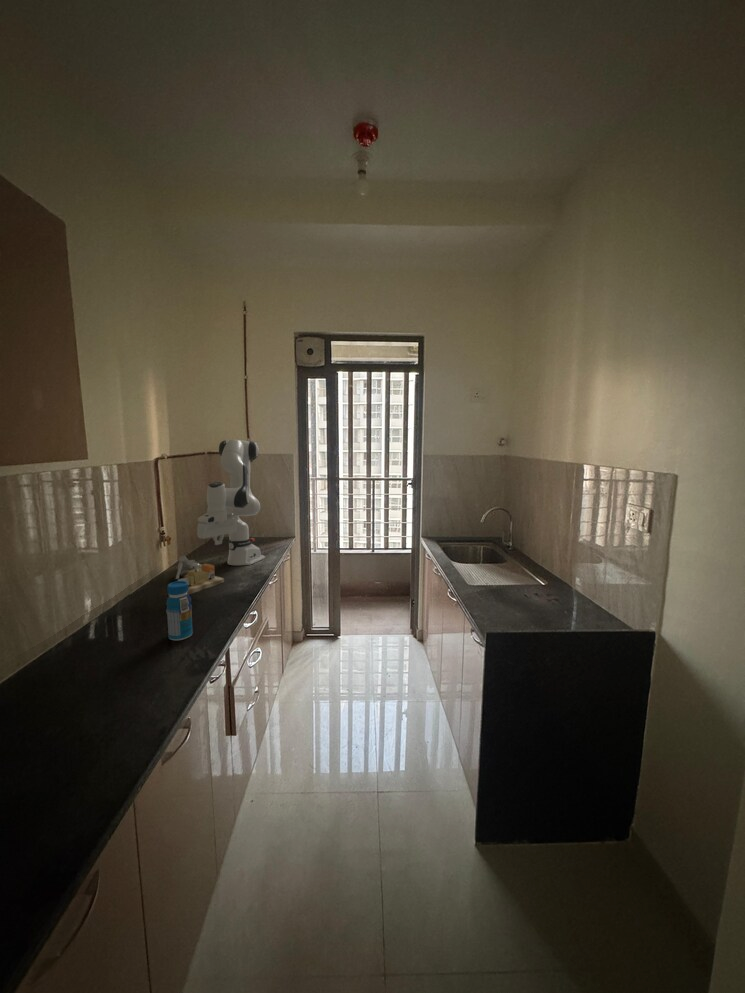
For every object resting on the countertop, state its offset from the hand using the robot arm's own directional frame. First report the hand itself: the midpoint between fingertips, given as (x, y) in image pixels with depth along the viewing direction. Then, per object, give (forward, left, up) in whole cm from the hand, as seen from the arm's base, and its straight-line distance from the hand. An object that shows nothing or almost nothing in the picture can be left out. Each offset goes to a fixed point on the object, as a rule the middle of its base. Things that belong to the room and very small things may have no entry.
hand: (218, 544), depth 191 cm
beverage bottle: (+40, +29, -22) cm, 54 cm away
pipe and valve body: (+6, -10, -20) cm, 23 cm away
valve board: (+6, -10, -22) cm, 24 cm away
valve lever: (+6, -4, -12) cm, 14 cm away
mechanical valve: (+4, -23, -22) cm, 32 cm away
